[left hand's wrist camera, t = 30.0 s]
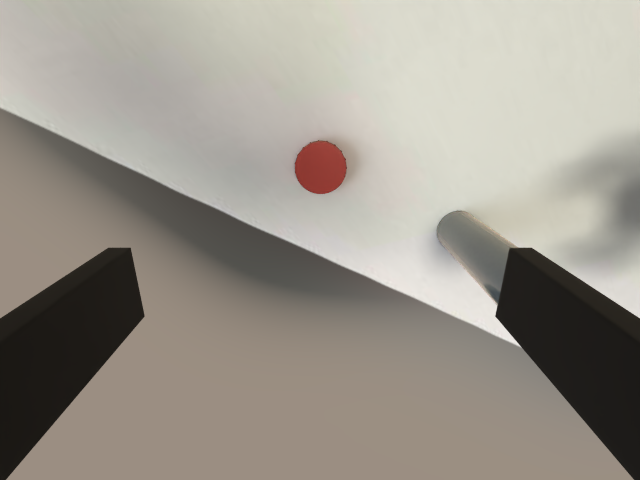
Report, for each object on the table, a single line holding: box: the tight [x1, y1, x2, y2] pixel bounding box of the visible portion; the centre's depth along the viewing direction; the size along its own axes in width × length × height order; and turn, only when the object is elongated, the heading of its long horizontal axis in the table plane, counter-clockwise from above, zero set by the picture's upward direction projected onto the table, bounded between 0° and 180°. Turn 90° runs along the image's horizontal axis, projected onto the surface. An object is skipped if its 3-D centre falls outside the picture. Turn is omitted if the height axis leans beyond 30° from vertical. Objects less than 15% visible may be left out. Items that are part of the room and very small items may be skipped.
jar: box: [437, 211, 518, 306], centre depth 34 cm, size 5×5×18 cm
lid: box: [295, 140, 347, 194], centre depth 38 cm, size 6×6×2 cm
